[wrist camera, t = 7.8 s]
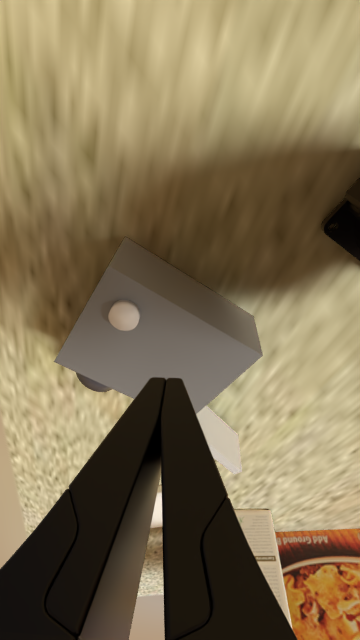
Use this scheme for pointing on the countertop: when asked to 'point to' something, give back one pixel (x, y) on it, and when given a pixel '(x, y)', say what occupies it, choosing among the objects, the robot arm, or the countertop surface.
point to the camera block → (158, 331)
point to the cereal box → (322, 582)
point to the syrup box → (265, 550)
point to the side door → (221, 440)
